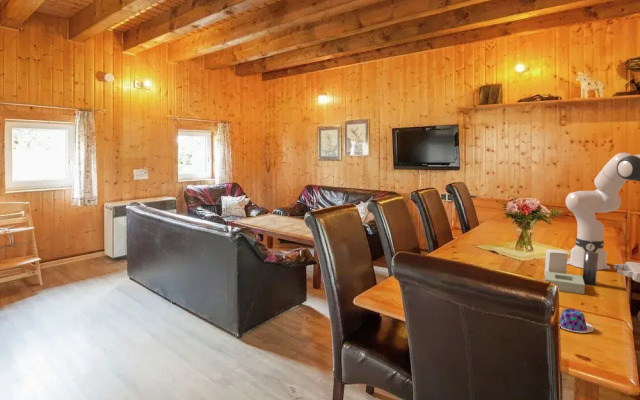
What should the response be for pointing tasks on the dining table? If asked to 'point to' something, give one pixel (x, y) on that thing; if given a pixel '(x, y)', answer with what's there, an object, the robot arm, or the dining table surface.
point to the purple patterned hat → (574, 321)
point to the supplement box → (556, 261)
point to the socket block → (566, 282)
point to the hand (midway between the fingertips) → (615, 269)
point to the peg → (590, 267)
